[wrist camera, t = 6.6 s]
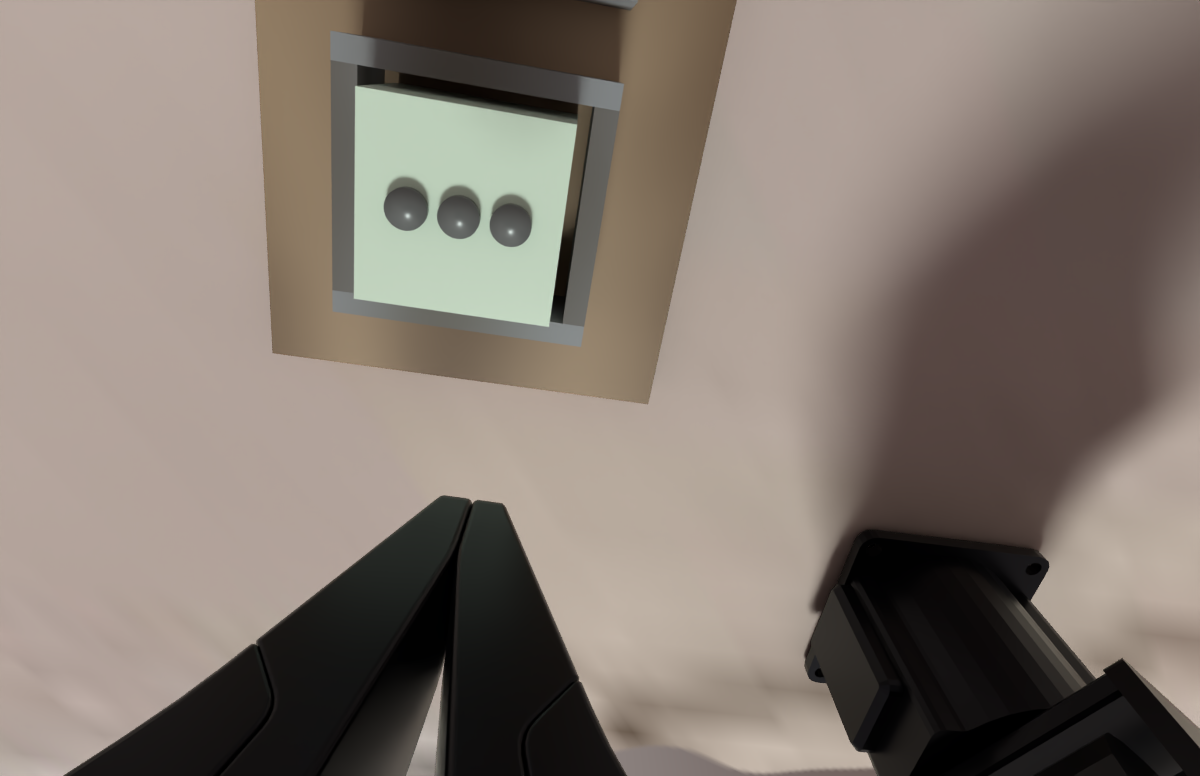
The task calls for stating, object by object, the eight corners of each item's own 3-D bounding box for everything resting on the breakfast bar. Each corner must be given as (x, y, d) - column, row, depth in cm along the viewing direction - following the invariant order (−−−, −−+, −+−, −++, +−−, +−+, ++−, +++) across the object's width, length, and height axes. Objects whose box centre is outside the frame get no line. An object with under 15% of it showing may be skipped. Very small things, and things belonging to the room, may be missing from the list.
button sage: (578, 114, 15) (577, 125, 12) (553, 284, 17) (548, 330, 14) (397, 82, 15) (352, 86, 12) (391, 260, 16) (350, 301, 13)
